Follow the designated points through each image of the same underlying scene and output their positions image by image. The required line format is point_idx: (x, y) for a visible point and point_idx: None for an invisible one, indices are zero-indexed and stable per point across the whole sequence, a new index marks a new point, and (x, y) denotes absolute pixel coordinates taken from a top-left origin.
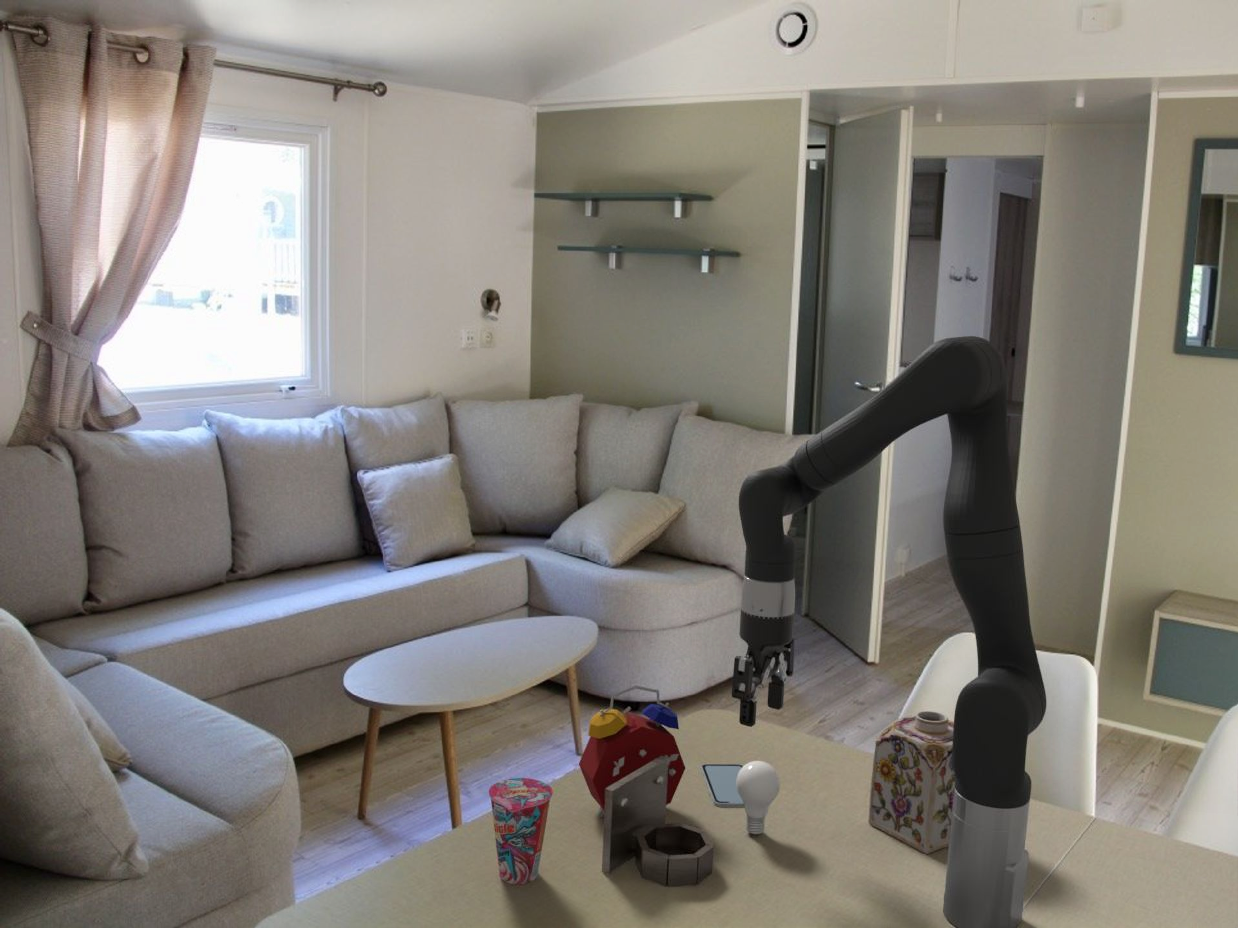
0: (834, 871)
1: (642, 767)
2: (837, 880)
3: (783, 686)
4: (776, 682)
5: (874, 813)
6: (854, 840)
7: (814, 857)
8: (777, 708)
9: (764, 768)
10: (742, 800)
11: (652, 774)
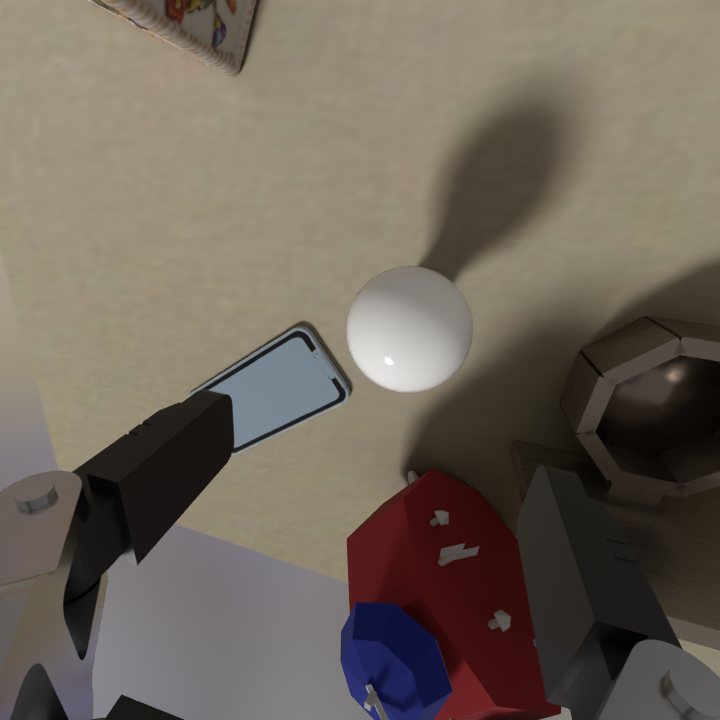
0: (519, 48)
1: None
2: (568, 16)
3: (107, 469)
4: (108, 532)
5: (224, 47)
6: (334, 73)
7: (467, 130)
8: (230, 407)
9: (420, 326)
10: (311, 358)
11: None
